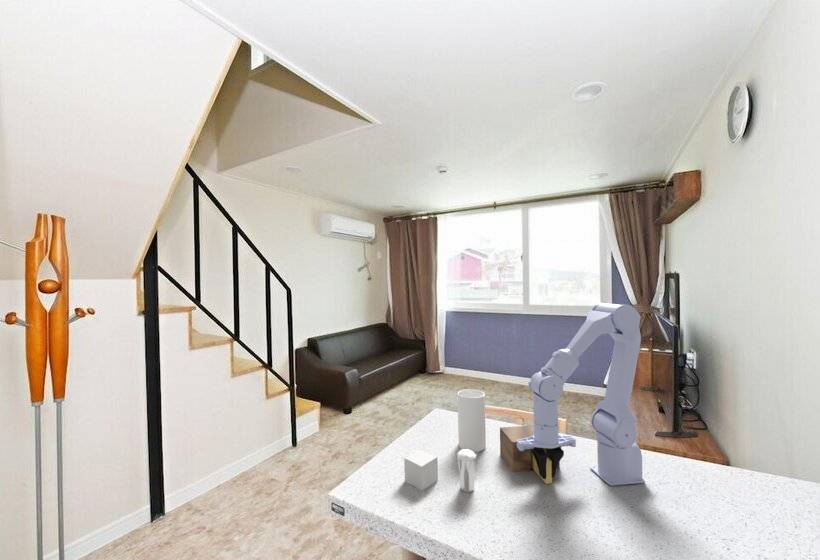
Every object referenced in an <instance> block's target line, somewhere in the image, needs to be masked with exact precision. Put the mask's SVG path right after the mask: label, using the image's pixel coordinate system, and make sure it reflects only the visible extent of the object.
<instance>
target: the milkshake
mask: <svg viewBox="0 0 820 560" xmlns="http://www.w3.org/2000/svg"><path fill="white" fill-rule="evenodd" d="M478 451H479V450H478ZM479 452H480V451H479ZM479 452H473V451H471V450H469V449H460V450H459V451H458V452H457V453H456V458H457V464H458V465H457V467H458V476H459V478H458V479H459V485H460V490H461V491H463V493H471V492H473V491H475V481H476V480H475V477H476V464H477V463H476V462H477V456H478V453H479Z"/></svg>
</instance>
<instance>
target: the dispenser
mask: <svg viewBox="0 0 820 560" xmlns="http://www.w3.org/2000/svg"><path fill="white" fill-rule="evenodd" d="M531 436H534V424H533V425H532V424H531V425H518V426H516V425H515V426H504V427H503V426H502V427H501V426H500V427H499V442H500V444H499V448H500V453H499V454H500V456H501V457H502V458H503V460H504V461H505V463H506V464H507V466H508V467H509V468H510V471H512V472H513V473H514V472H526V471H532V467H531V449H524V451H520V450H519V449H518V448H517V440H520V439H524V438H528V437H531ZM543 449H544V450H545V453H546V449H545V448H543ZM560 463H561V461H560V462H559V464H558V466H557V469H560V468H561V467H560Z"/></svg>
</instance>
